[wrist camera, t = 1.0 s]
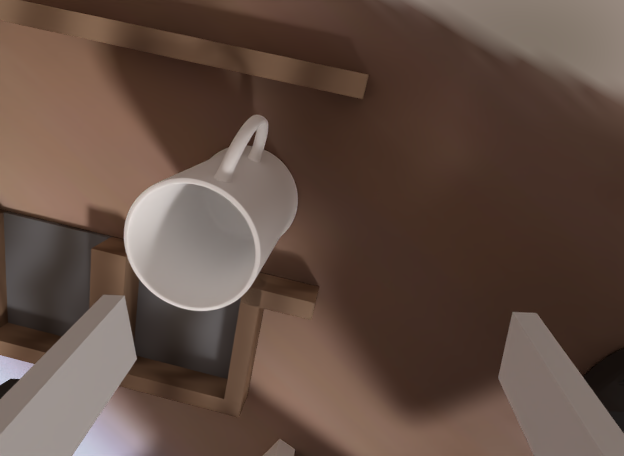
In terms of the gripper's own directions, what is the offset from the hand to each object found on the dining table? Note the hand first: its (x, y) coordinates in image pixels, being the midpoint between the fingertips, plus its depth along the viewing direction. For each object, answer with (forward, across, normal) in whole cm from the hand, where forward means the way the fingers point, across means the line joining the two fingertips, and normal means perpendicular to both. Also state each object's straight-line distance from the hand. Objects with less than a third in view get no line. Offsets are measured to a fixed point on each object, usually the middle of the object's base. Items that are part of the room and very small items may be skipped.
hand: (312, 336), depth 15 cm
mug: (+21, +6, +1) cm, 22 cm away
